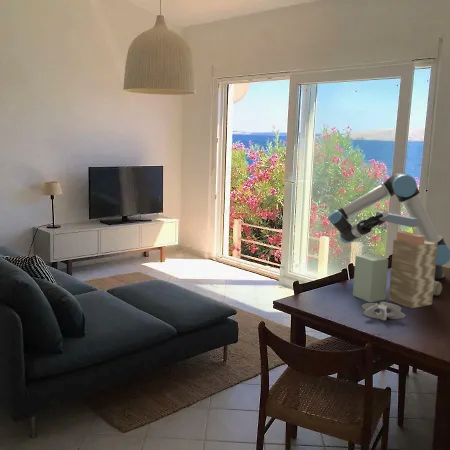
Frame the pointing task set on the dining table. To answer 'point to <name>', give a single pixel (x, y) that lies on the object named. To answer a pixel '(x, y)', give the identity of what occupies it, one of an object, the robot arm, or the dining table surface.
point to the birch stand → (413, 273)
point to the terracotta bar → (410, 238)
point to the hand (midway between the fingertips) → (391, 212)
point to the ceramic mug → (437, 288)
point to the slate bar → (400, 219)
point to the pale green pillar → (370, 277)
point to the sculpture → (383, 306)
